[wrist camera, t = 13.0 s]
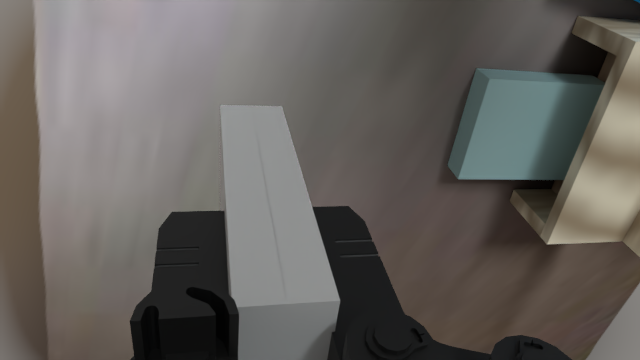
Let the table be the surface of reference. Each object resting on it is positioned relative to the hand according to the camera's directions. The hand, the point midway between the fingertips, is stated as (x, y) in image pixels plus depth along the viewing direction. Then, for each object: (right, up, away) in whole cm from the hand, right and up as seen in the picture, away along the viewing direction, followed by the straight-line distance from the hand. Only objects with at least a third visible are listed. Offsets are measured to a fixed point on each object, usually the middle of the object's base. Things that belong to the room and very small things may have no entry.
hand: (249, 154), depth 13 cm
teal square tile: (+21, +5, +36) cm, 42 cm away
